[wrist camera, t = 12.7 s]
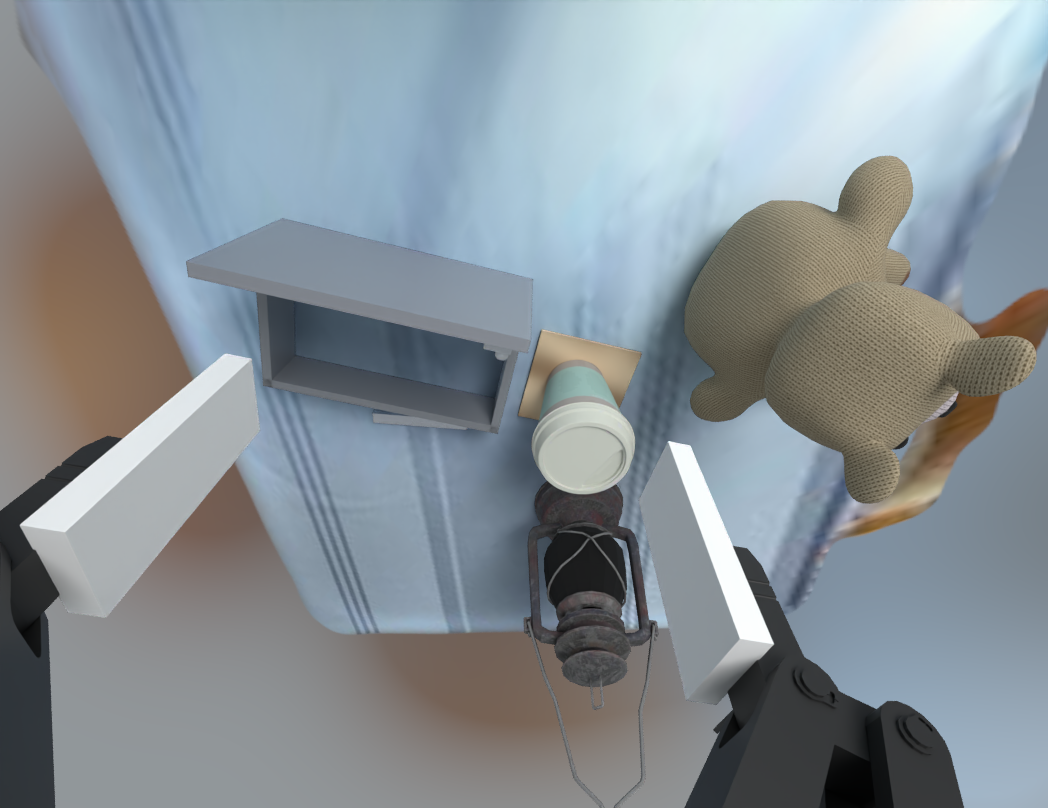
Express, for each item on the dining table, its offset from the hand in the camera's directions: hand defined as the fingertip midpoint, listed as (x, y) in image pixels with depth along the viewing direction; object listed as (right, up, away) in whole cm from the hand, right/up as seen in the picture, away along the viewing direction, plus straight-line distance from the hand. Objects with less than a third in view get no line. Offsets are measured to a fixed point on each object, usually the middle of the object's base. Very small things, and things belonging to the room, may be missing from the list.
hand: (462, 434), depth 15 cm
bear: (+24, +12, +27) cm, 38 cm away
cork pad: (+7, +3, +33) cm, 34 cm away
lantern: (+9, -11, +42) cm, 44 cm away
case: (-10, +8, +30) cm, 33 cm away
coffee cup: (+7, +3, +33) cm, 34 cm away
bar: (-9, 0, +36) cm, 37 cm away
